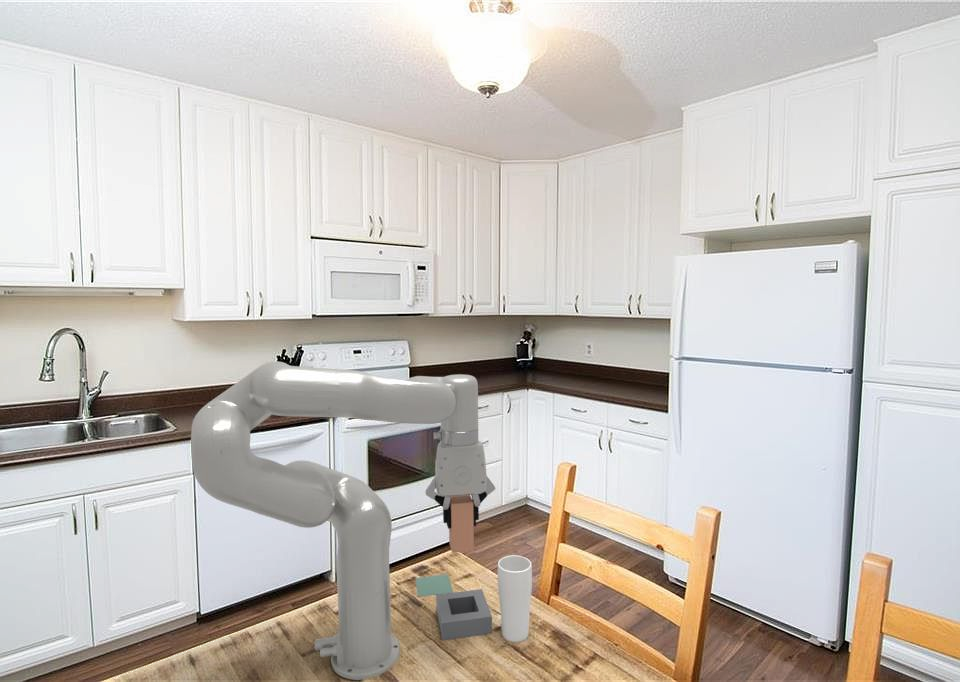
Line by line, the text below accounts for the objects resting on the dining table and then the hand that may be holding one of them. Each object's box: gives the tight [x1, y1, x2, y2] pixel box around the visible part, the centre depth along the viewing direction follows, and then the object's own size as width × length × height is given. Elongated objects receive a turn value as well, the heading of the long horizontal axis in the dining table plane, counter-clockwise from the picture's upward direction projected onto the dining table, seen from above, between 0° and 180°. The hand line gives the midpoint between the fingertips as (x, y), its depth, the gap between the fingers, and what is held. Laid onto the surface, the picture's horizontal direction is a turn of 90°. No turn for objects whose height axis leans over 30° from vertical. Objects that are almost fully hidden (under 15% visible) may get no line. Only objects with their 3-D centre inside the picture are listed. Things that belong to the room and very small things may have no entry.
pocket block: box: [435, 588, 493, 641], centre depth 108 cm, size 10×10×4 cm
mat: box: [415, 573, 454, 598], centre depth 121 cm, size 8×8×1 cm
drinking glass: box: [497, 554, 533, 643], centre depth 103 cm, size 7×7×15 cm
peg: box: [448, 495, 475, 554], centre depth 106 cm, size 4×4×10 cm
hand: (461, 523), depth 106 cm, fingers closed on peg, 4 cm apart
